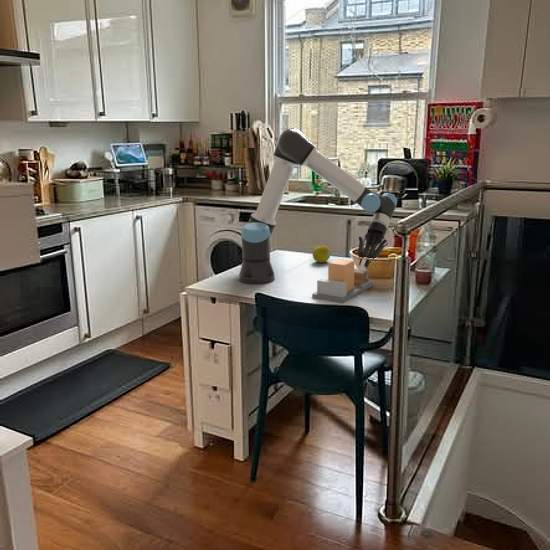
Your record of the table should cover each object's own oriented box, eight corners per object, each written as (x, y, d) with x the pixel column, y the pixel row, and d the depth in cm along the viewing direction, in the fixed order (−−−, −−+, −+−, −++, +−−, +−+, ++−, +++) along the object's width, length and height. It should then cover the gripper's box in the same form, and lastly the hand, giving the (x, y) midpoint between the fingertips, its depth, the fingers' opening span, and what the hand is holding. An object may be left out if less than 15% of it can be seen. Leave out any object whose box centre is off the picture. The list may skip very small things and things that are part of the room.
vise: (344, 280, 230) (344, 265, 228) (373, 285, 223) (373, 270, 221) (312, 297, 209) (312, 281, 208) (342, 303, 202) (342, 286, 200)
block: (338, 285, 219) (338, 258, 216) (353, 287, 215) (354, 260, 212) (328, 290, 213) (328, 262, 210) (344, 293, 209) (344, 265, 206)
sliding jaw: (346, 278, 227) (346, 266, 226) (368, 282, 222) (368, 270, 220) (340, 281, 223) (340, 269, 222) (362, 285, 218) (362, 273, 216)
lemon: (320, 265, 254) (320, 248, 252) (308, 262, 260) (308, 246, 258) (335, 261, 261) (336, 245, 259) (323, 258, 267) (323, 242, 265)
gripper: (395, 232, 234) (377, 279, 226) (367, 229, 241) (349, 275, 233) (390, 222, 228) (372, 270, 220) (362, 219, 236) (343, 266, 227)
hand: (360, 272), depth 226 cm, fingers closed
